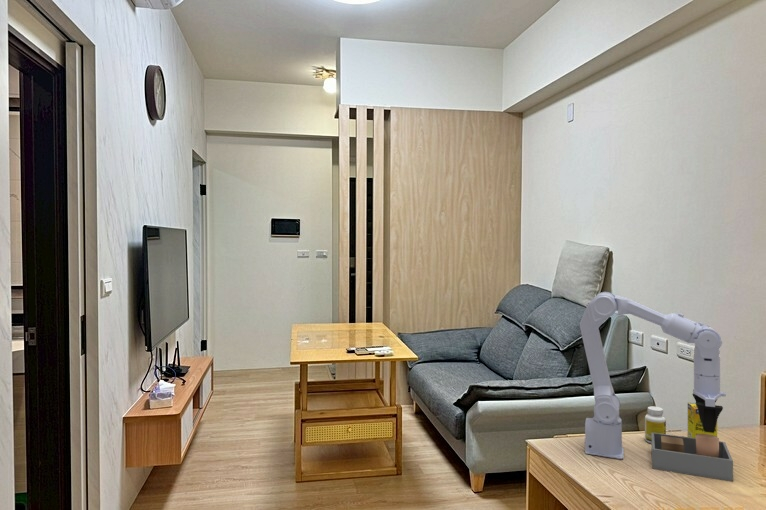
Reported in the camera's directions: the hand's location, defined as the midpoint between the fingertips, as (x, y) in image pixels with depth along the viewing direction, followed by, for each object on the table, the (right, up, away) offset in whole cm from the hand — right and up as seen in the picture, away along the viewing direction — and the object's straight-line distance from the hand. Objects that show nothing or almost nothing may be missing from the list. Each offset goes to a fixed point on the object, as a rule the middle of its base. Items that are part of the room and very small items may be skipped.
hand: (707, 427), depth 132 cm
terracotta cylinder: (0, -10, 0) cm, 10 cm away
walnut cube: (-7, -10, +4) cm, 12 cm away
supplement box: (+9, -10, +16) cm, 21 cm away
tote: (-3, -10, +2) cm, 11 cm away
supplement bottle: (-4, -11, +18) cm, 21 cm away
